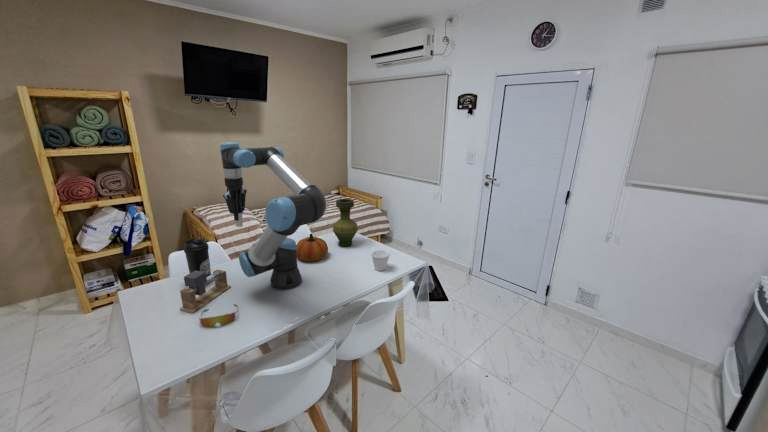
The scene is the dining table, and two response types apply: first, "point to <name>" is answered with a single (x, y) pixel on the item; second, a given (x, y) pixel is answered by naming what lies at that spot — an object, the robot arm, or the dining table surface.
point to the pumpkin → (311, 249)
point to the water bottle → (197, 255)
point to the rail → (195, 304)
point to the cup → (380, 259)
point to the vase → (345, 223)
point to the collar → (196, 281)
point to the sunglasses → (218, 319)
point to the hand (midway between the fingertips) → (239, 226)
